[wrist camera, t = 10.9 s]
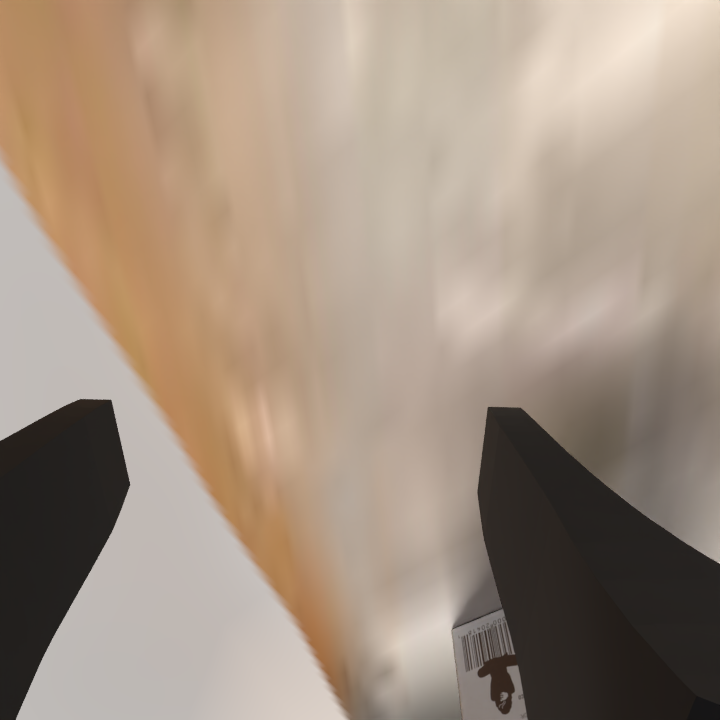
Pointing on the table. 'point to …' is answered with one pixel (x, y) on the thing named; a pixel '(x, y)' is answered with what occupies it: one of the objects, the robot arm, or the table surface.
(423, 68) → the table surface
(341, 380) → the table surface
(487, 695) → the coffee box
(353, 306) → the table surface
